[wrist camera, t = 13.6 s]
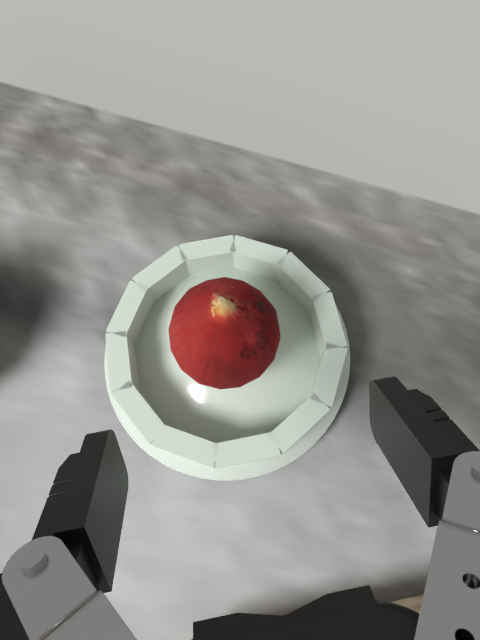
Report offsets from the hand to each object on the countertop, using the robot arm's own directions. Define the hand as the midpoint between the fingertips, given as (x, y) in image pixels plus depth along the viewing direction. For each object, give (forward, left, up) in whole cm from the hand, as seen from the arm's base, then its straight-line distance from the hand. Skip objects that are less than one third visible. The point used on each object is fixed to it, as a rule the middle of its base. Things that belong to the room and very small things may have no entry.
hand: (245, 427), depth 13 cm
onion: (0, -6, -12) cm, 13 cm away
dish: (0, -6, -13) cm, 14 cm away
